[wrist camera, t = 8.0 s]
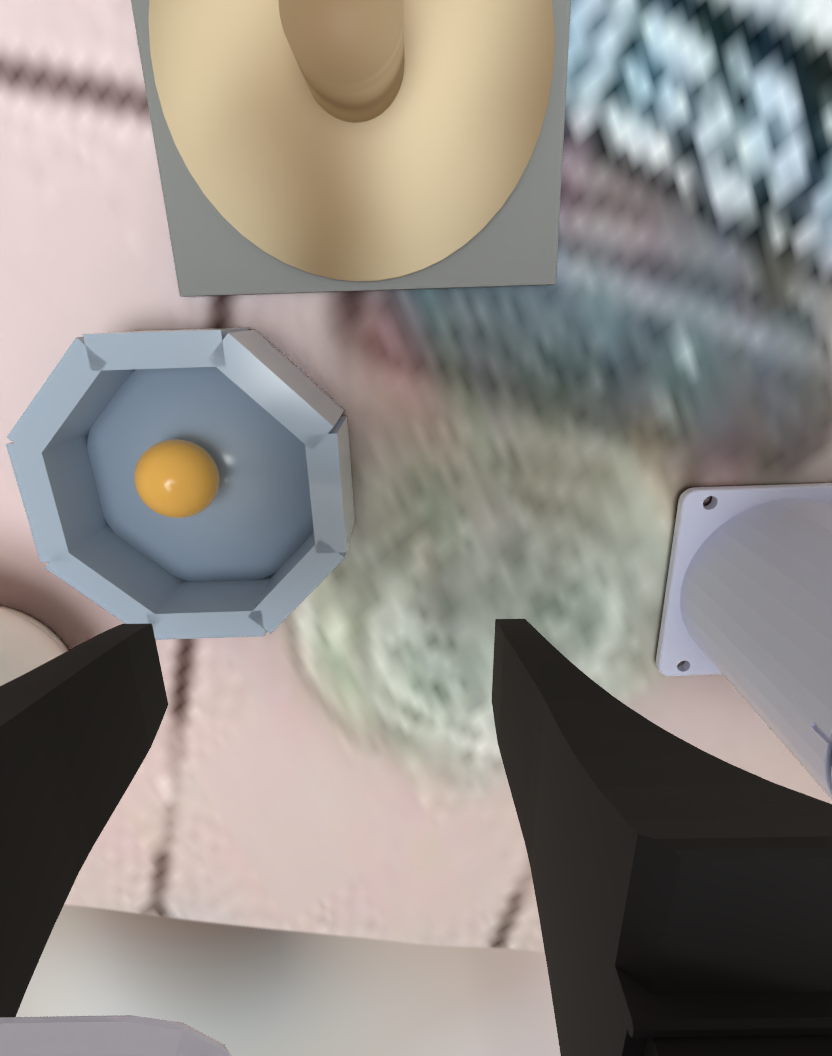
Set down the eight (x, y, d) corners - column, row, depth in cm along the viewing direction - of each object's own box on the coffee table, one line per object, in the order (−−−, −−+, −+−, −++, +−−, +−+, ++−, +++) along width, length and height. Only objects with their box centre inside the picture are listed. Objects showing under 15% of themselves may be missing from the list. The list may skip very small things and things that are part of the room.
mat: (579, -237, 14) (584, -252, 14) (552, 284, 18) (555, 283, 18) (100, -222, 14) (91, -236, 14) (184, 296, 18) (180, 296, 18)
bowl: (340, 324, 19) (327, 326, 16) (360, 593, 22) (352, 636, 19) (39, 334, 19) (-31, 337, 16) (107, 601, 22) (60, 645, 19)
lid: (574, -187, 14) (625, -340, 11) (528, 288, 18) (554, 283, 15) (131, -214, 14) (42, -380, 11) (181, 274, 18) (128, 266, 15)
